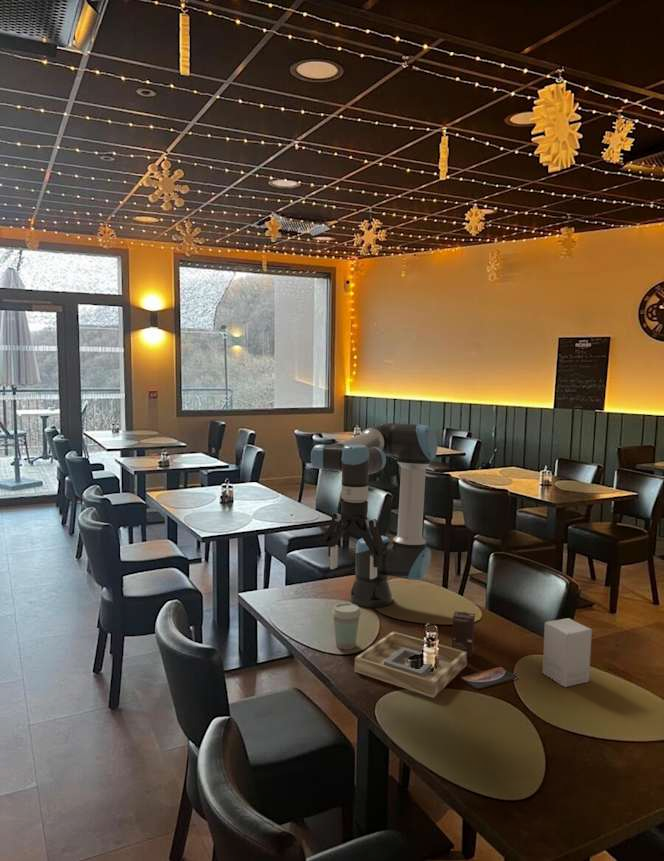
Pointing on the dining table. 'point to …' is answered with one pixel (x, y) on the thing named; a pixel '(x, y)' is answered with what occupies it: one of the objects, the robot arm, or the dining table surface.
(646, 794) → the dining table surface
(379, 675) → the birch tray
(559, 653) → the supplement box
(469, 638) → the box
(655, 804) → the dining table surface
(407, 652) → the slate socket
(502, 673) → the smartphone
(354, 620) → the coffee cup
